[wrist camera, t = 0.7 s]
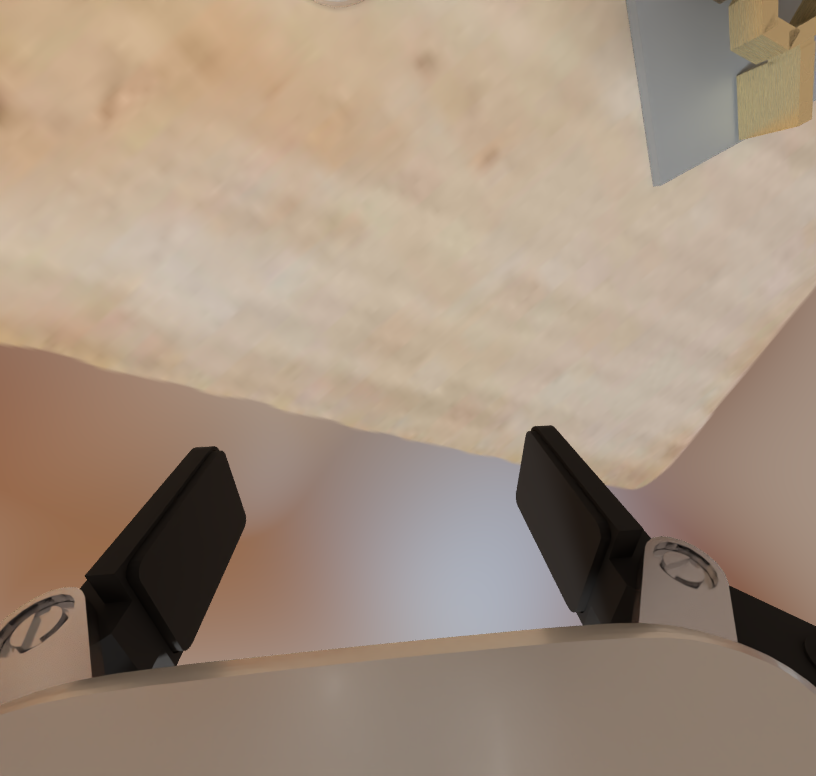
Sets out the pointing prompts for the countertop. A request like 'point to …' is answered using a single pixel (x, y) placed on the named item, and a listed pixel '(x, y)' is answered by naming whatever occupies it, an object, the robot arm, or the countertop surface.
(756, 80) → the brass box-end wrench
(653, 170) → the slate board
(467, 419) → the countertop surface
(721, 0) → the fixed leaf
